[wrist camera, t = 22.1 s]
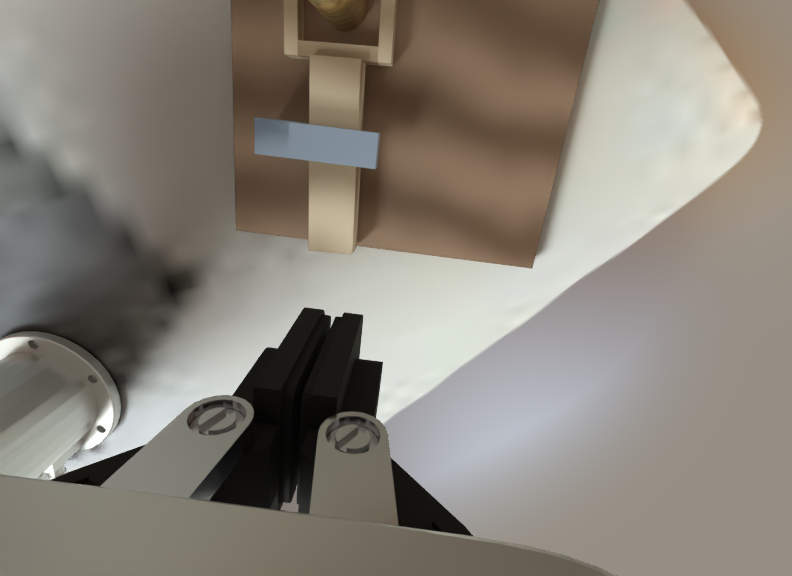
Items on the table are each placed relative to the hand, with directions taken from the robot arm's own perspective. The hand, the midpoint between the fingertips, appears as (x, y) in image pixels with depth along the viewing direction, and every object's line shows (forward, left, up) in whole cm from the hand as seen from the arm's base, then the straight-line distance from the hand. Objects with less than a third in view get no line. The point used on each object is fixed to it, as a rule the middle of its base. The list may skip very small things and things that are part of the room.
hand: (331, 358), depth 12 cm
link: (+7, +4, -19) cm, 21 cm away
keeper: (+5, +4, -19) cm, 20 cm away
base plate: (+7, 0, -21) cm, 22 cm away
